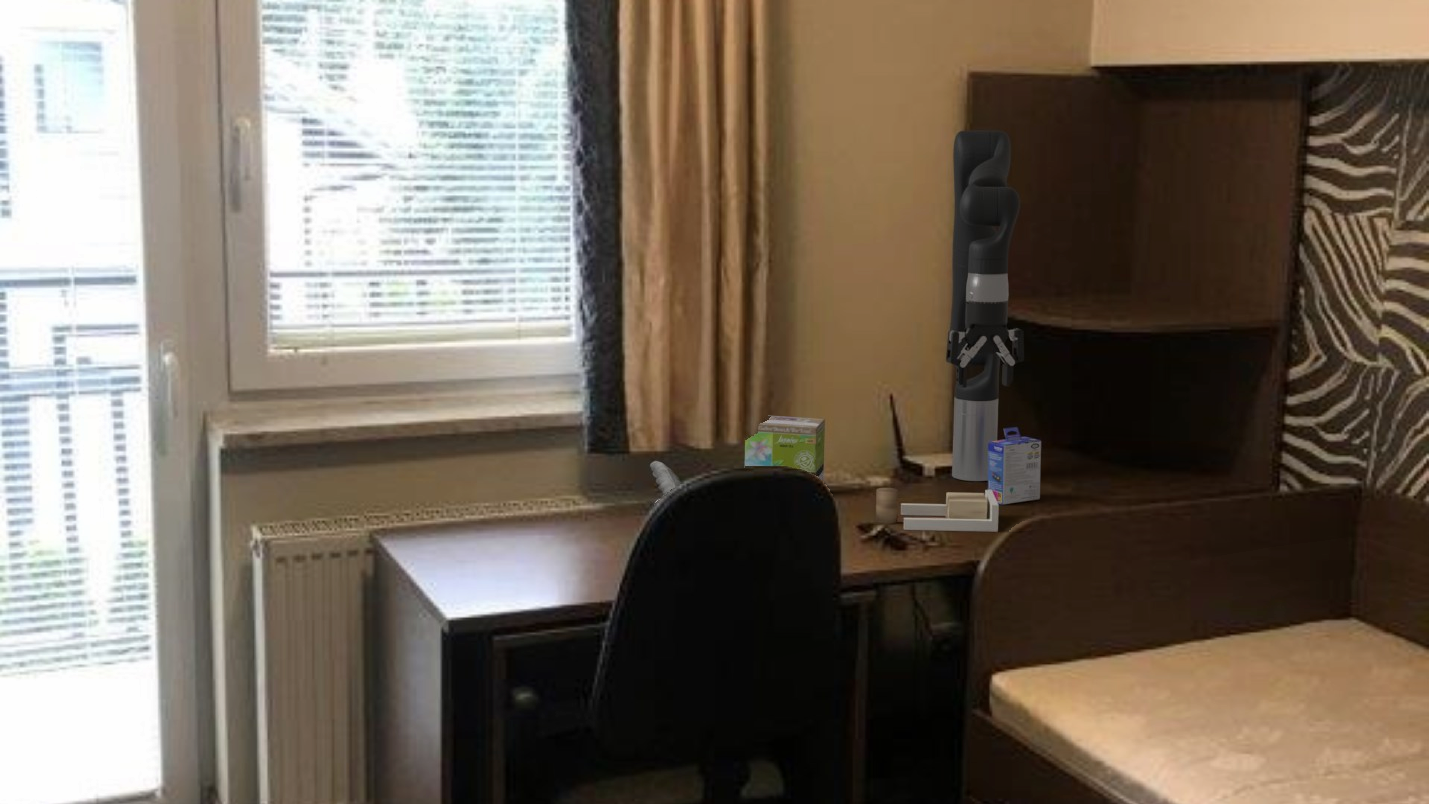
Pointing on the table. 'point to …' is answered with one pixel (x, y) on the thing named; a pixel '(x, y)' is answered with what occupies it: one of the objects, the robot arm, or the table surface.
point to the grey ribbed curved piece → (664, 477)
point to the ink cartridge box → (1014, 468)
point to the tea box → (788, 444)
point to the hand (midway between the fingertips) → (984, 386)
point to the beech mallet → (955, 509)
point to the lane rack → (950, 524)
